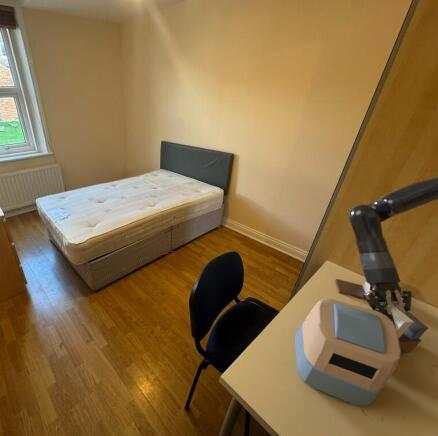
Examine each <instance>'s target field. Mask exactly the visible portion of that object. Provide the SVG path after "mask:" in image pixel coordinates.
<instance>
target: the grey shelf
mask: <svg viewBox="0 0 438 436" xmlns="http://www.w3.org/2000/svg"><path fill="white" fill-rule="evenodd" d="M405 315H406V316H407V317H408V318H410V319H411V320H412V321H413V323H412V324H411V325H410V326H409V327H408V328H407V330H406V331H405V332H404V333H403V334H402V335H401V336H400V338H399V344H400V350H401V353H400V354H404V353H411V352H412V351H413V350H414V349H416V347H417V346H418V345H419V344H420V343H421V342H422V339H420V338H421V336H423V335H424V333H426V331H428V329H429V327H428V326H427V325H426V324H425V323H423V322H422V321H421V320H420V319H418V318H417V317H416V316H415V315H414V314H413V313H411V312H410V311H406V313H405Z"/></svg>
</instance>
